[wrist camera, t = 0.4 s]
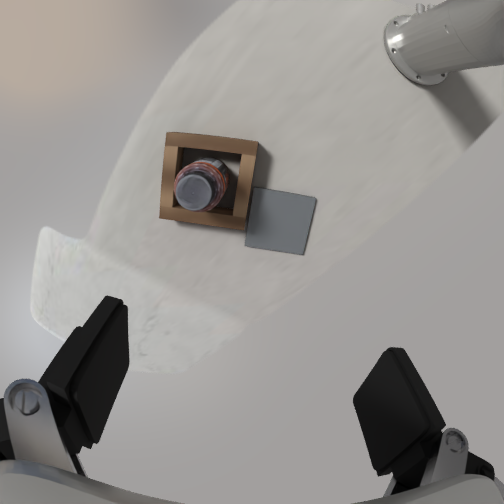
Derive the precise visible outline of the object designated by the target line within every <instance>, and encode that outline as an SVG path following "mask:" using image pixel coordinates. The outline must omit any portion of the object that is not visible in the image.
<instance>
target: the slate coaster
mask: <svg viewBox="0 0 504 504" xmlns="http://www.w3.org/2000/svg"><path fill="white" fill-rule="evenodd" d="M315 201H316V198H315V197H310V196H305V195H299V194H294V193H288V192H282V191H277V190H271V189H265V188H258V187H254V191H253V197H252V203H251V209H250V215H249V221H248V227H247V234H246V240H245V246H248V247H255V248H261V249H268V250H275V251H281V252H288V253H294V254H301V255H303V251H304V247H305V243H306V239H307V235H308V231H309V227H310V222H311V218H312V214H313V209H314V205H315Z"/></svg>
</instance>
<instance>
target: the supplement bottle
mask: <svg viewBox="0 0 504 504" xmlns="http://www.w3.org/2000/svg"><path fill="white" fill-rule="evenodd" d="M228 184H229V172H228V169H227V167H226V166H225V164H224V163H222V162H221V161H220V160H218V159H216V158H210V157H209V158H208V157H207V158H202V159H200V160H197V161H195V162H193V163H191V164H189V165H187V166H185V167H184V168H183V169H182V170H181V171H180V172H179V173H178V175H177V177H176V179H175V182H174V193H175V196H176V198H177V200H178V202H179V204H180V205H181V206H182V207H184V208H185V209H187V210H189V211H192V212H206V211H209V210H211V209H212V208H214V207H215V206H216V205H217V204H218V203H219V202H220V200H221V199H222V197H223V195H224V193H225V191H226V189H227V187H228Z"/></svg>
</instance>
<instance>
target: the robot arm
mask: <svg viewBox="0 0 504 504" xmlns="http://www.w3.org/2000/svg"><path fill="white" fill-rule="evenodd" d="M427 7H428V8H427V9H428V10H427V11H424V9H425V8H424V5H422V4H420V3H418V4H416V10H417V13H415V14H414V15H412V16H410V15H401V16H397V17H395V18H394V19H392V20H391V21H390V22H389V23H388V24H387V26H386V28H385V31H384V42H385V47H386V50H387V52H388V55H389V57H390V59H391V60H392V62H393V63H394V65H395V66H396V67H397V68H398V70H399V71H400V72H401V73H403V74H404V75H405V76H406V77H407V78H409V79H410V80H412V81H414V82H416V83H419V84H422V85H435V84H439V83H441V82H442V81H444V80H445V79H446V77H447V75H448V73H449V72H454V71H460V70H466V69H473V68H481V67H489V66H499V65H504V0H446V1H444V2H442V3H441V4H438V5H436V6H435V5H432V4H429V5H428V6H427ZM128 367H129V342H128V307H127V306H126V305H123V300H121V299H118V298H114V297H111V296H105V297H104V299H103V300H102V301H101V303H100V304H99V305H98V306H97V308H96V309H95V310H94V312H93V313H92V315H91V316H90V317H89V319H88V320H87V321H86V323H85V324H84V325H83V327H80V326H78V327H76V328H75V329H74V330H73V332H72V333H71V335H70V336H69V337H68V339H67V340H66V342H65V343H64V344H63V346H62V347H61V349H60V350H59V352H58V353H57V354H56V356H55V357H54V359H53V360H52V362H51V363H50V365H49V366H48V368H47V369H46V371H45V372H44V374H43V376H42V377H41V379H40V380H39V382H36V381H34V380H31V379H19V380H16V381H14V382H12V383H11V384H10V385H9V386H8V387H7V389H6V391H5V393H4V398H1V399H0V504H183V503H178V502H172V501H168V500H163V499H159V498H154V497H150V496H146V495H142V494H138V493H134V492H131V491H127V490H124V489H120V488H117V487H114V486H111V485H108V484H105V483H102V482H99V481H96V480H93V479H90V478H88V476H87V474H86V472H85V470H84V468H83V466H82V463H81V461H80V459H79V457H78V453H80V450H81V448H82V446H84V447H87V448H89V449H91V448H92V445H93V443H96V444H97V443H98V442H99V440H100V438H101V435H102V433H103V430H104V427H105V424H106V422H107V419H108V417H109V414H110V411H111V409H112V407H113V404H114V402H115V399H116V397H117V394H118V391H119V389H120V387H121V384H122V382H123V380H124V377H125V375H126V373H127V370H128ZM353 404H354V407H355V410H356V413H357V416H358V419H359V422H360V426H361V429H362V432H363V435H364V438H365V442H366V445H367V448H368V452H369V456H370V459H371V462H372V466H373V468H374V469H375V470H376V471H377V475H378V476H382V475H387V474H390V473H391V472H392V473H393V477H392V479H391V482H390V484H389V486H388V488H387V490H386V492H385V494H384V496H383V497H382V498H378V499H374V500H369V501H364V502H360V503H354V504H504V484H503V483H502V482H501V481H499V479H498V478H496V477H495V476H494V475H495V473H494V468H493V466H492V465H491V464H490V463H488V462H487V461H485V460H483V459H482V458H480V457H478V456H476V455H474V454H472V453H470V452H469V451H468V441H467V438H466V437H465V435H464V434H463V433H462V432H461V431H459V430H458V429H455V428H449V429H446V430H445V431H444V432H443V433H442V432H441V430H442V429H443V428H444V427H445V426H446V424H445V422H444V420H443V418H442V416H441V414H440V412H439V410H438V408H437V406H436V404H435V402H434V400H433V399H432V397H431V395H430V393H429V391H428V389H427V388H426V386H425V384H424V382H423V381H422V379H421V377H420V375H419V374H418V372H417V370H416V368H415V367H414V365H413V363H412V362H411V360H410V358H409V356H408V355H407V353H406V351H405V350H404V349H403V348H395V347H394V348H393V347H391V348H388V349H387V350H386V351H384V352H383V354H382V355H381V357H380V358H379V360H378V362H377V363H376V364H375V366H374V367H373V369H372V371H371V372H370V373H369V375H368V377H367V378H366V379H365V381H364V382H363V384H362V385H361V386H360V388H359V389H358V391H357V392H356V394H355V395H354V398H353Z"/></svg>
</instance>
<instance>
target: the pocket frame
mask: <svg viewBox="0 0 504 504" xmlns="http://www.w3.org/2000/svg"><path fill="white" fill-rule="evenodd" d="M184 147H187V148H197V149H206V150H215V151H223V152H231V153H238V154H242V156H241V163H240V169H239V176H238V183H237V189H236V196H235V203H234V209H231V208H224V207H217V206H215V207H214V208H212V209H211V210H209V211H206V212H192V211H189V210H187V209H185V208H184V207H182V206H181V205H180V204H179V202H178V200H177V198H176V196H175V193H174V182H175V179H176V177H177V175H178V173H179V172H180V171H181V170H182V162H183V153H184ZM257 147H258V142H256V141H250V140H243V139H236V138H228V137H220V136H211V135H202V134H191V133H179V132H167V133H166V142H165V151H164V161H163V172H162V184H161V198H160V216H159V218H161V219H168V220H175V221H183V222H190V223H197V224H204V225H211V226H218V227H225V228H231V229H238V230H244V227H245V221H246V214H247V208H248V202H249V196H250V189H251V183H252V177H253V171H254V165H255V159H256V153H257Z"/></svg>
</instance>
